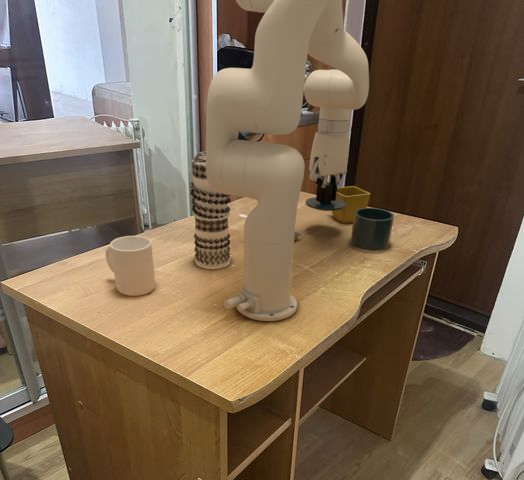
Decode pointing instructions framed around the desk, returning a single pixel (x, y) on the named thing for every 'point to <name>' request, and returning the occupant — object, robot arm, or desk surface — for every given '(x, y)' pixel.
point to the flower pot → (350, 202)
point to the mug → (132, 264)
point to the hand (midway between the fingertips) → (325, 200)
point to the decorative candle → (209, 219)
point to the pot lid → (329, 203)
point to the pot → (371, 229)
